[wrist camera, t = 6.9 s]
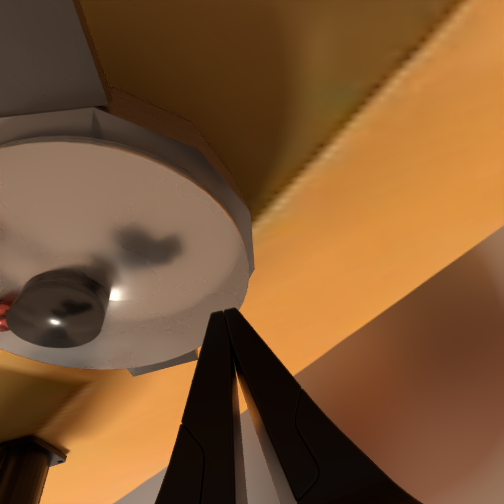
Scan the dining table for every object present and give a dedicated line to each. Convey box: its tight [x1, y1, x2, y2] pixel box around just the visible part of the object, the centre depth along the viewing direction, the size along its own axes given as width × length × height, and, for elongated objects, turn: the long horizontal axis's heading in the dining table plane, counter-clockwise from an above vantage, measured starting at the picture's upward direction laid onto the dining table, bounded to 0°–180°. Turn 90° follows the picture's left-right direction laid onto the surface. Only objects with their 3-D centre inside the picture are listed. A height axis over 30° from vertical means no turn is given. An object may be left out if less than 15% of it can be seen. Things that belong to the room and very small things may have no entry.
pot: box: [0, 0, 255, 376], centre depth 13 cm, size 17×13×4 cm
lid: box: [0, 135, 249, 370], centre depth 10 cm, size 12×11×2 cm
